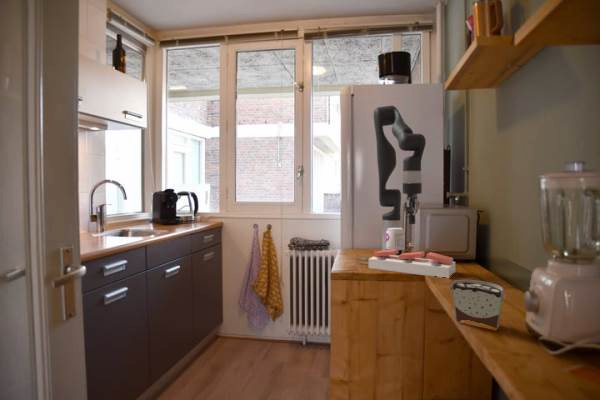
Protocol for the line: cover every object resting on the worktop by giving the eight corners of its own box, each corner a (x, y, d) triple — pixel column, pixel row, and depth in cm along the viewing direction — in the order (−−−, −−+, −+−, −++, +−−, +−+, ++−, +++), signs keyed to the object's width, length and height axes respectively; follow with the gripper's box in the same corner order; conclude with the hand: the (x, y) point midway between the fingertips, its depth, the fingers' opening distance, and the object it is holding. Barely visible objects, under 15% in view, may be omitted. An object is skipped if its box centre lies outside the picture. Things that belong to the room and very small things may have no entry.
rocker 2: (429, 255, 143) (430, 252, 143) (452, 261, 138) (453, 257, 138) (425, 258, 138) (426, 254, 138) (449, 264, 133) (450, 260, 133)
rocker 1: (379, 254, 155) (378, 250, 155) (398, 252, 150) (398, 249, 150) (374, 256, 150) (373, 253, 150) (394, 255, 145) (393, 251, 145)
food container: (510, 325, 85) (510, 285, 84) (504, 333, 80) (505, 290, 80) (457, 313, 93) (457, 277, 93) (449, 320, 88) (449, 281, 88)
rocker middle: (403, 256, 149) (403, 253, 149) (424, 255, 144) (424, 251, 144) (399, 259, 144) (398, 255, 144) (420, 257, 139) (420, 253, 139)
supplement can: (385, 261, 160) (385, 229, 160) (387, 257, 168) (387, 227, 168) (404, 262, 158) (403, 229, 157) (404, 258, 166) (404, 227, 165)
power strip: (362, 261, 162) (362, 250, 161) (455, 271, 139) (455, 259, 139) (351, 266, 152) (351, 254, 152) (448, 278, 129) (448, 265, 129)
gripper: (407, 182, 151) (407, 222, 151) (397, 182, 140) (398, 225, 140) (425, 182, 146) (425, 223, 147) (416, 182, 136) (416, 226, 136)
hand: (412, 224), depth 144 cm, fingers closed
